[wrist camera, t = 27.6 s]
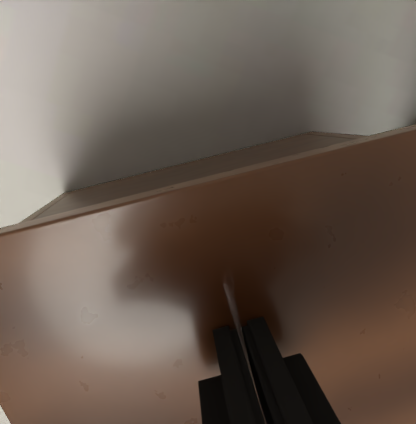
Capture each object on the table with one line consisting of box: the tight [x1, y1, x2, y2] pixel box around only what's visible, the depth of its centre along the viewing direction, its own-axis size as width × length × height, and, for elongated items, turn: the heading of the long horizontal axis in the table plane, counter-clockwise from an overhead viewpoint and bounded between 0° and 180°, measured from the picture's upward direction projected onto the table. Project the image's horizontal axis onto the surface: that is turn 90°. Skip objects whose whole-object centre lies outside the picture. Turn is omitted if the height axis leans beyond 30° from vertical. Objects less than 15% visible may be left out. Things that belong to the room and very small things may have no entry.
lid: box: [0, 124, 416, 424], centre depth 11 cm, size 17×15×1 cm
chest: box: [20, 132, 366, 223], centre depth 17 cm, size 16×15×10 cm
